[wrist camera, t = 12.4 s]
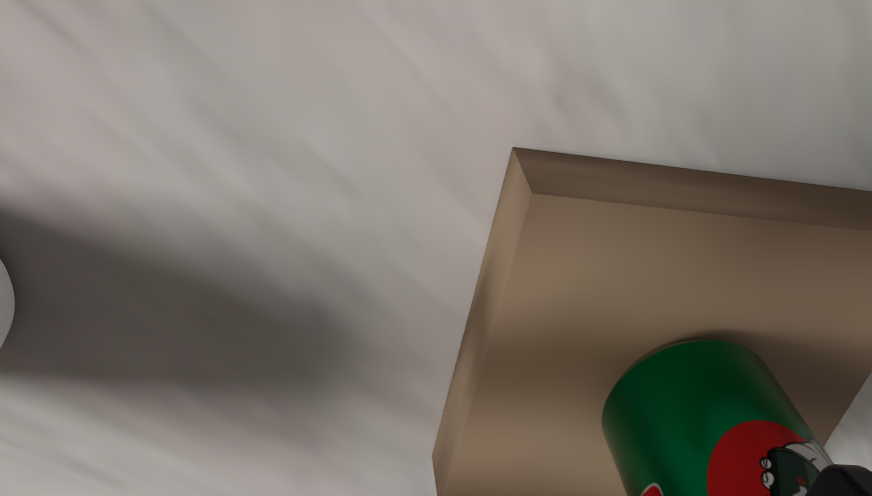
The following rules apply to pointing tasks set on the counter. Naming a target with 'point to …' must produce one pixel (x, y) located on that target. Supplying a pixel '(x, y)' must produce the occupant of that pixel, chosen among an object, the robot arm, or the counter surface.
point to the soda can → (708, 426)
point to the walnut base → (643, 308)
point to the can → (5, 303)
